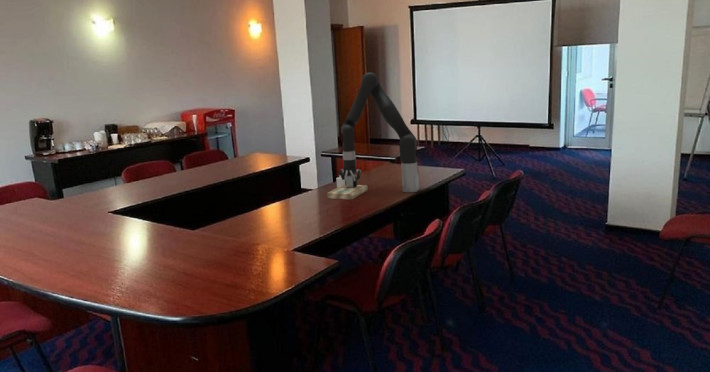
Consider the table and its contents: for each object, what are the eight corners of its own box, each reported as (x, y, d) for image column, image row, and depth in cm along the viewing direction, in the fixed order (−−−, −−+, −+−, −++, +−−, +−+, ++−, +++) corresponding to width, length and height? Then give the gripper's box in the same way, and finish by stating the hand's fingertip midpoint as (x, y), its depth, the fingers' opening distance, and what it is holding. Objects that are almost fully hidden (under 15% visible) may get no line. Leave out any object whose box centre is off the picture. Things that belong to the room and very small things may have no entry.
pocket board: (367, 191, 339) (367, 184, 338) (352, 201, 320) (352, 193, 319) (343, 190, 346) (343, 184, 345) (327, 199, 326) (326, 192, 325)
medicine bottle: (345, 190, 347) (344, 171, 344) (336, 189, 351) (335, 170, 348) (352, 187, 352) (351, 168, 350) (344, 186, 357) (342, 168, 354)
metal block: (356, 191, 338) (355, 174, 336) (353, 192, 334) (352, 176, 332) (349, 190, 340) (348, 174, 338) (346, 192, 336) (345, 176, 334)
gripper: (363, 157, 333) (364, 185, 337) (341, 157, 339) (343, 184, 343) (357, 159, 326) (359, 188, 330) (335, 159, 332) (337, 187, 336)
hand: (351, 186), depth 336 cm, fingers closed on metal block, 4 cm apart
